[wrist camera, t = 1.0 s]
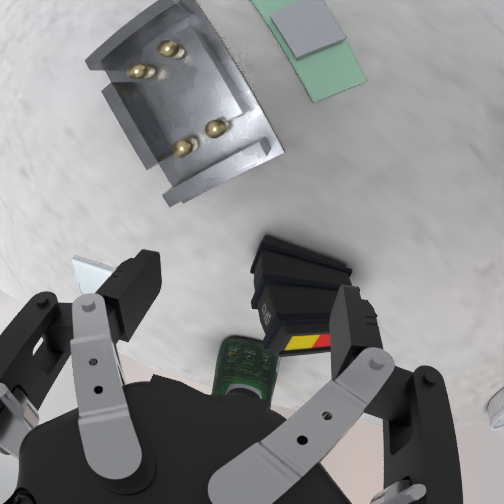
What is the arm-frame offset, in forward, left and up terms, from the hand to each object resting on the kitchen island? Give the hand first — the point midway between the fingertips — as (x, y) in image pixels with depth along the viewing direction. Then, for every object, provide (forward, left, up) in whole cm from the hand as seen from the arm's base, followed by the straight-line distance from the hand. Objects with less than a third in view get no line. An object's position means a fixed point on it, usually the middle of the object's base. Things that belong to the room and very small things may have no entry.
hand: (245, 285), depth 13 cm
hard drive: (+32, +4, -22) cm, 39 cm away
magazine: (+2, +12, -22) cm, 25 cm away
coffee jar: (+17, +24, -22) cm, 37 cm away
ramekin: (-31, +69, -22) cm, 79 cm away
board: (-9, -12, -22) cm, 27 cm away
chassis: (+5, -12, -22) cm, 25 cm away
